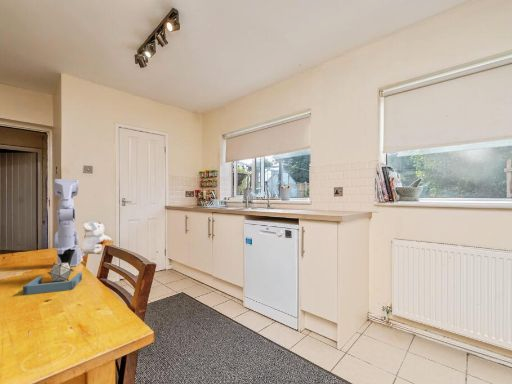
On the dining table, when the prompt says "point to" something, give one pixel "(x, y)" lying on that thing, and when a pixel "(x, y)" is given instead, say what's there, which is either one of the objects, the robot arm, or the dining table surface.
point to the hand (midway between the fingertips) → (66, 267)
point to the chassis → (50, 285)
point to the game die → (60, 272)
